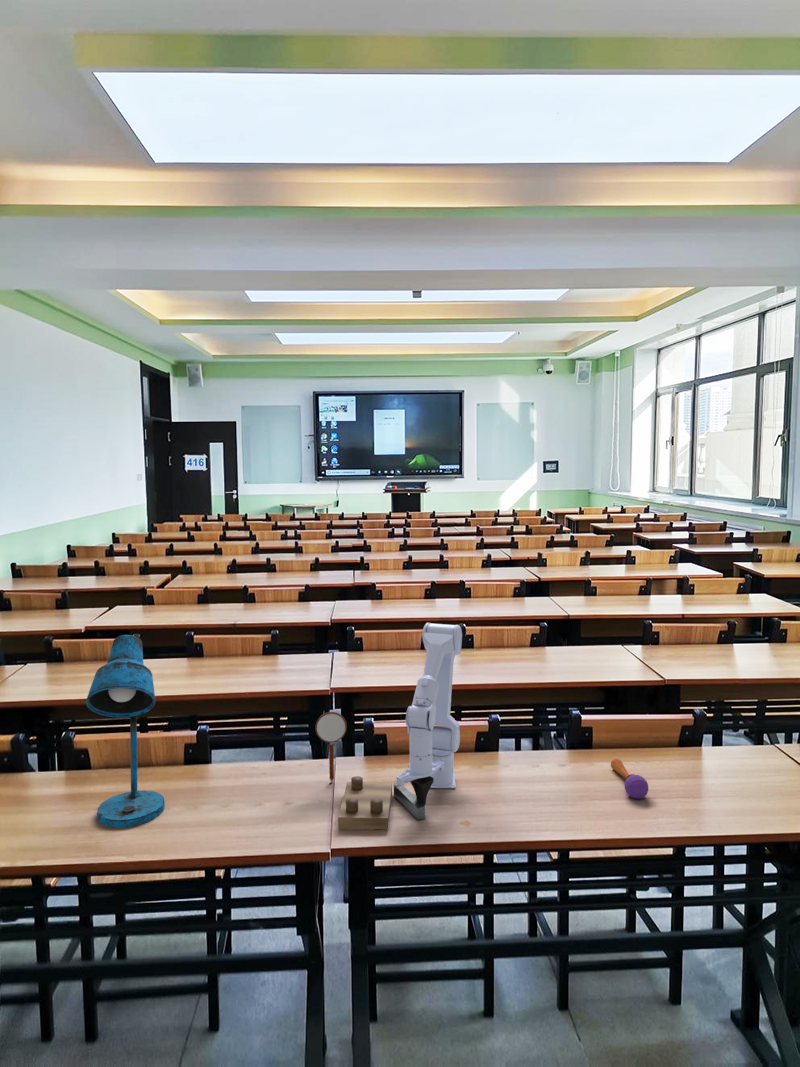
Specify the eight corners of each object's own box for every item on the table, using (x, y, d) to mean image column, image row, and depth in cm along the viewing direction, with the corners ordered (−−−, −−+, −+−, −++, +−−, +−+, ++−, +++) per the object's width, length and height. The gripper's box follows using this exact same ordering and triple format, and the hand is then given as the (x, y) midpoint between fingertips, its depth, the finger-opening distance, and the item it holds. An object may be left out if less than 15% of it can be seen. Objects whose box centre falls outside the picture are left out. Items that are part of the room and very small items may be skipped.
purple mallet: (628, 756, 200) (653, 781, 180) (624, 776, 200) (649, 804, 180) (608, 752, 200) (631, 777, 180) (604, 772, 200) (626, 800, 180)
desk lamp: (85, 841, 162) (76, 652, 158) (105, 798, 183) (97, 630, 179) (158, 834, 165) (151, 648, 161) (168, 792, 187) (162, 627, 182)
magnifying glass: (347, 780, 194) (346, 710, 192) (347, 783, 192) (346, 712, 190) (316, 781, 193) (315, 711, 191) (316, 784, 191) (314, 713, 189)
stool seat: (347, 792, 186) (347, 772, 186) (392, 793, 186) (392, 773, 185) (338, 829, 167) (337, 807, 167) (388, 830, 167) (387, 808, 166)
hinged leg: (392, 794, 184) (392, 781, 184) (399, 792, 185) (399, 779, 185) (417, 819, 171) (417, 806, 171) (424, 818, 172) (424, 804, 171)
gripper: (431, 740, 182) (431, 790, 183) (388, 755, 172) (388, 807, 173) (450, 748, 176) (450, 800, 177) (407, 764, 167) (407, 818, 168)
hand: (421, 804), depth 175 cm, fingers closed, pressing on hinged leg
